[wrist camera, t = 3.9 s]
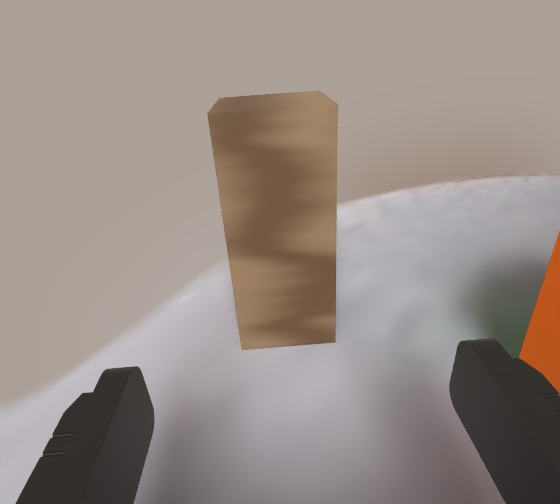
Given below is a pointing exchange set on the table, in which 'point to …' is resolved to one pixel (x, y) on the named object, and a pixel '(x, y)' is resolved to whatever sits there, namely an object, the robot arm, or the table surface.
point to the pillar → (279, 213)
